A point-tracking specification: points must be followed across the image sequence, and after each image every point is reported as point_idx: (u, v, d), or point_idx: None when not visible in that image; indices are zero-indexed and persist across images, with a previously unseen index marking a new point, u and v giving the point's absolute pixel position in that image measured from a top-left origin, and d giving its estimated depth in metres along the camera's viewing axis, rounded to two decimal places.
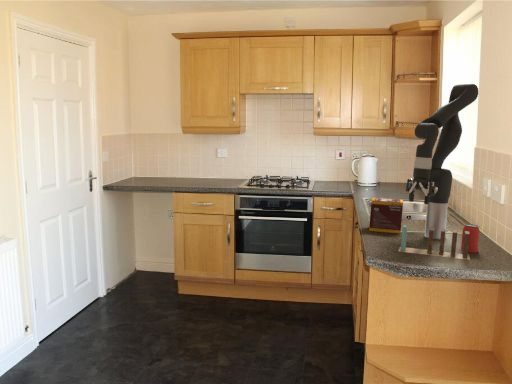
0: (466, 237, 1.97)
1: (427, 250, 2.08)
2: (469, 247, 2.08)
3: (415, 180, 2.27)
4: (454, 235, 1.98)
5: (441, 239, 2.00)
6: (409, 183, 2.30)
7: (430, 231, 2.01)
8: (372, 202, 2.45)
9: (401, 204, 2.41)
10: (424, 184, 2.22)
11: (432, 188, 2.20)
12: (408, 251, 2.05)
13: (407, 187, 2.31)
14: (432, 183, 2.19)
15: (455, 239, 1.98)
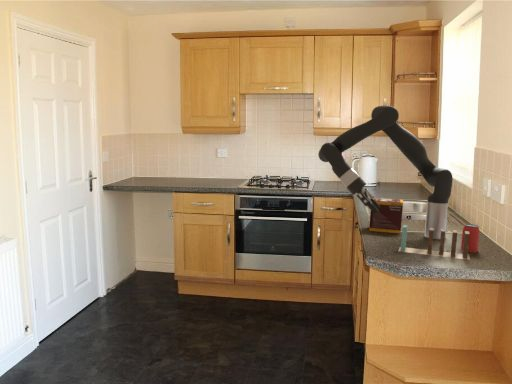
0: (466, 237, 1.97)
1: (427, 250, 2.08)
2: (469, 247, 2.08)
3: None
4: (454, 235, 1.98)
5: (441, 239, 2.00)
6: None
7: (430, 231, 2.01)
8: None
9: (401, 204, 2.41)
10: None
11: (362, 199, 2.05)
12: (408, 251, 2.05)
13: None
14: (359, 195, 2.05)
15: (455, 239, 1.98)
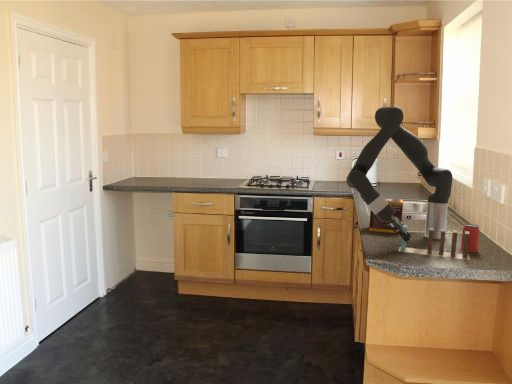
0: (466, 237, 1.97)
1: (427, 250, 2.08)
2: (469, 247, 2.08)
3: None
4: (454, 235, 1.98)
5: (441, 239, 2.00)
6: None
7: (430, 231, 2.01)
8: None
9: (401, 204, 2.41)
10: None
11: (395, 229, 2.02)
12: (408, 251, 2.05)
13: None
14: (391, 225, 2.02)
15: (455, 239, 1.98)
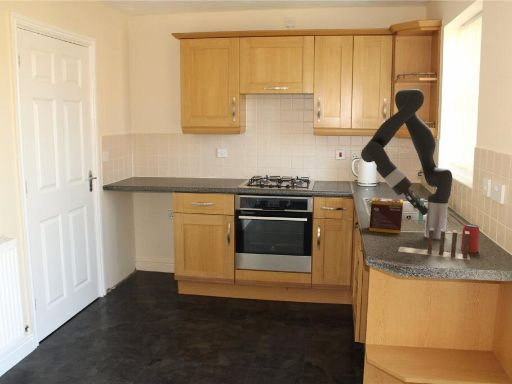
0: (466, 237, 1.97)
1: (427, 250, 2.08)
2: (469, 247, 2.08)
3: None
4: (454, 235, 1.98)
5: (441, 239, 2.00)
6: None
7: (430, 231, 2.01)
8: (372, 202, 2.45)
9: (401, 204, 2.41)
10: None
11: (412, 202, 1.99)
12: (408, 251, 2.05)
13: None
14: (408, 198, 1.99)
15: (455, 239, 1.98)
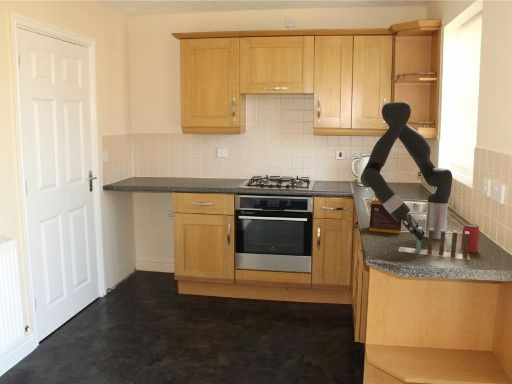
0: (466, 237, 1.97)
1: (427, 250, 2.08)
2: (469, 247, 2.08)
3: None
4: (454, 235, 1.98)
5: (441, 239, 2.00)
6: None
7: (430, 231, 2.01)
8: (372, 202, 2.45)
9: None
10: None
11: (408, 227, 2.00)
12: (408, 251, 2.05)
13: None
14: (404, 223, 2.00)
15: (455, 239, 1.98)
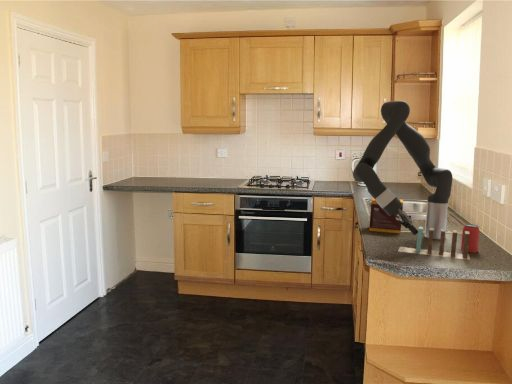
0: (466, 237, 1.97)
1: (427, 250, 2.08)
2: (469, 247, 2.08)
3: None
4: (454, 235, 1.98)
5: (441, 239, 2.00)
6: None
7: (430, 231, 2.01)
8: (372, 202, 2.45)
9: None
10: None
11: (404, 224, 2.02)
12: (408, 251, 2.05)
13: None
14: (400, 221, 2.02)
15: (455, 239, 1.98)
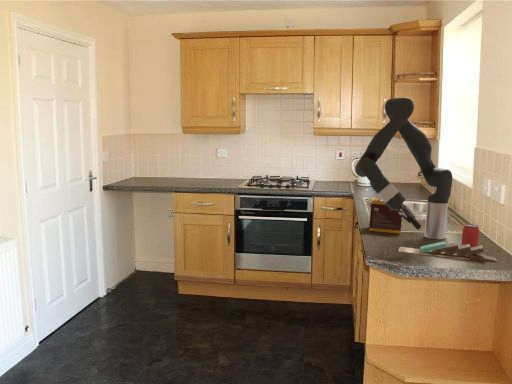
0: (492, 261, 1.94)
1: None
2: None
3: None
4: (480, 250, 1.95)
5: (461, 249, 1.98)
6: None
7: (456, 246, 1.98)
8: (372, 202, 2.45)
9: None
10: None
11: (407, 218, 2.02)
12: (408, 251, 2.05)
13: None
14: (404, 216, 2.01)
15: (476, 252, 1.96)
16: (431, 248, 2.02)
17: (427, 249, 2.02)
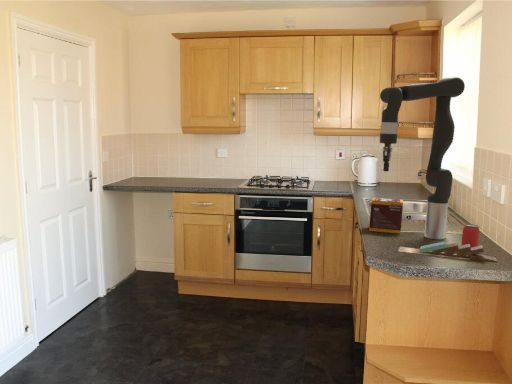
0: (492, 261, 1.94)
1: None
2: None
3: None
4: (480, 250, 1.95)
5: (461, 249, 1.98)
6: None
7: (456, 246, 1.98)
8: (372, 202, 2.45)
9: (401, 204, 2.41)
10: None
11: (385, 157, 2.19)
12: (408, 251, 2.05)
13: None
14: (384, 153, 2.17)
15: (476, 252, 1.96)
16: (431, 248, 2.02)
17: (427, 249, 2.02)
